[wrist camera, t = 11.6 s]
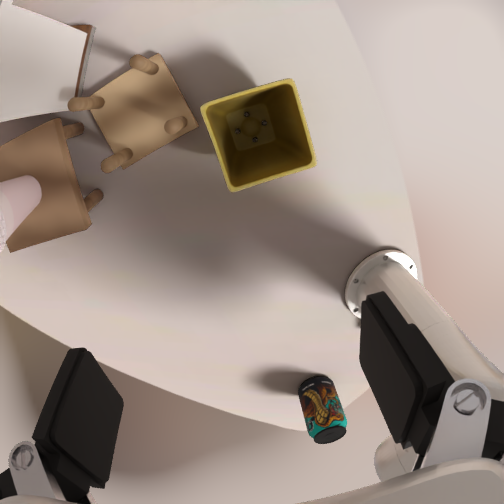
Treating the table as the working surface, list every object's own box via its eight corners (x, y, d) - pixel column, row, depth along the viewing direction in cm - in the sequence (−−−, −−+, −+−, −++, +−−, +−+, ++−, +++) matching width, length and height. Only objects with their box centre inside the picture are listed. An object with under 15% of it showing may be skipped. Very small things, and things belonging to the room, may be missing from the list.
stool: (111, 203, 37) (86, 229, 29) (41, 225, 37) (10, 252, 29) (86, 113, 31) (53, 119, 24) (15, 145, 31) (-23, 159, 24)
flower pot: (297, 151, 36) (318, 166, 28) (227, 173, 37) (229, 194, 29) (276, 82, 32) (293, 76, 24) (203, 105, 33) (198, 105, 25)
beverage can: (322, 369, 54) (340, 420, 43) (338, 384, 57) (355, 432, 46) (290, 386, 56) (302, 438, 45) (308, 400, 58) (321, 449, 48)
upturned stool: (199, 126, 34) (192, 132, 26) (126, 167, 35) (103, 185, 27) (161, 55, 29) (144, 41, 22) (89, 99, 31) (57, 101, 23)
